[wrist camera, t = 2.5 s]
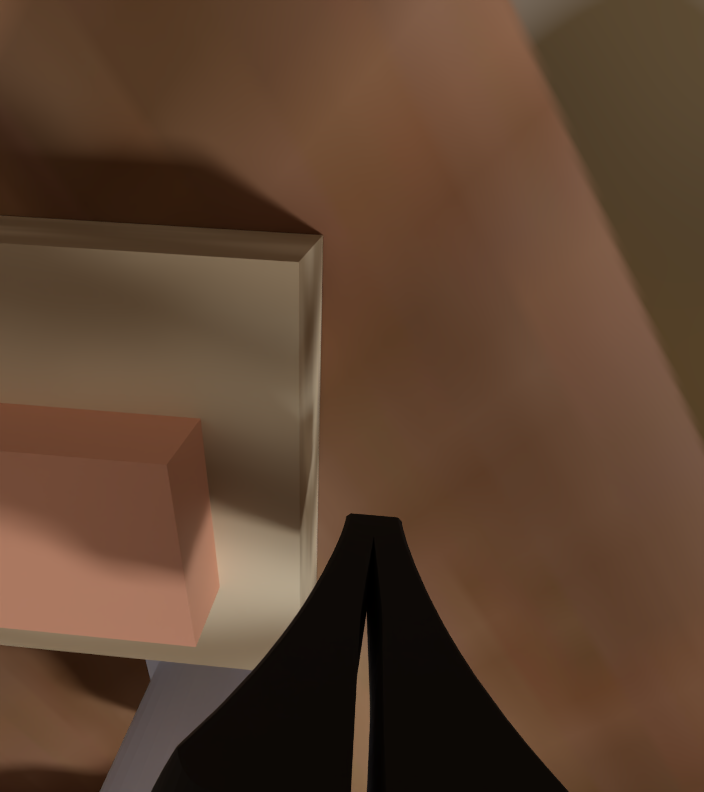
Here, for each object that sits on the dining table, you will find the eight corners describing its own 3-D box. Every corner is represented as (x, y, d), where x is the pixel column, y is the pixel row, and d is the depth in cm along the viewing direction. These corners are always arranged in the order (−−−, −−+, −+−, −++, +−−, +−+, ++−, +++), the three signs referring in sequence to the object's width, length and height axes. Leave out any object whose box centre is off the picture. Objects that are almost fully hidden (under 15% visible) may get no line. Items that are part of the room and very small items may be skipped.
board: (316, 582, 20) (300, 674, 16) (-4, 552, 20) (-88, 636, 17) (323, 235, 13) (299, 261, 10) (-143, 206, 14) (-326, 222, 10)
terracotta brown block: (219, 587, 14) (195, 647, 13) (-60, 560, 15) (-122, 615, 13) (200, 418, 12) (166, 465, 10) (-141, 391, 12) (-233, 431, 10)
